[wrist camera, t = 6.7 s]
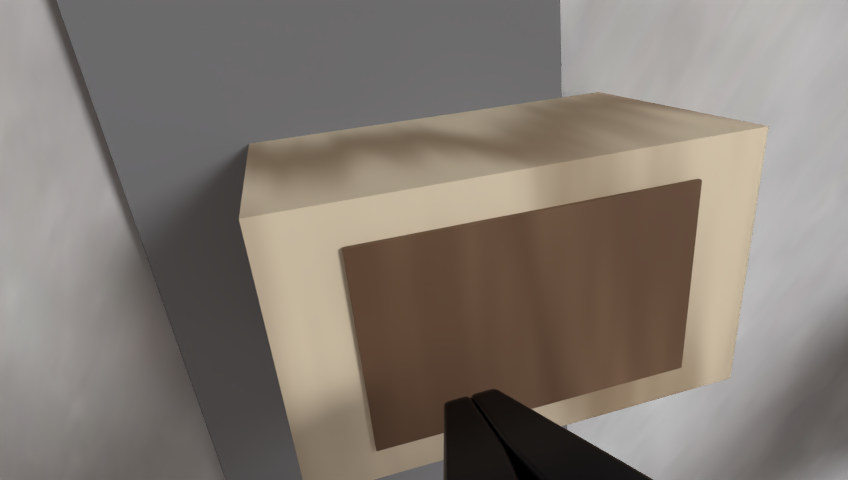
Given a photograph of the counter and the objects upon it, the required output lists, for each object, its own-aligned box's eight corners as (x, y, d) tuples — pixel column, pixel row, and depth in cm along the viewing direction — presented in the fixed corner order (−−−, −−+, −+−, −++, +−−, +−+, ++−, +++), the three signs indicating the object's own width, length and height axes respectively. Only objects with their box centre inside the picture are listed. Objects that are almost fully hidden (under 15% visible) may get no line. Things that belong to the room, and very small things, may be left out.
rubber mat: (548, -194, 13) (556, -199, 13) (561, 435, 21) (567, 441, 21) (4, -163, 11) (-4, -170, 11) (248, 531, 19) (247, 541, 18)
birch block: (772, 127, 10) (238, 221, 8) (733, 380, 13) (307, 502, 11) (598, 92, 16) (249, 143, 14) (593, 274, 18) (293, 341, 16)
